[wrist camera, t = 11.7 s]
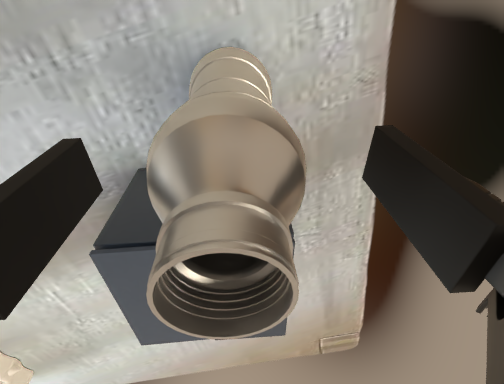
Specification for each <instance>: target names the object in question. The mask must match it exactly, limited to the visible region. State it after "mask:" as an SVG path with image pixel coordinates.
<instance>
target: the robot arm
mask: <svg viewBox="0 0 504 384" xmlns="http://www.w3.org/2000/svg"><path fill="white" fill-rule="evenodd" d="M362 178H363V180H364V181H365V182H366V184H367V185H368V186H369V187H370V189H371V190H372V191H373V193H374V194H375V195H376V197H377V198H378V199H379V201H380V202H381V203H382V205H383V206H384V207H385V208H386V209H387V211H388V212H389V214H390V215H391V216H392V217H393V219H394V220H395V221H396V223H397V224H398V225H399V227H400V228H401V229H402V231H403V232H404V233H405V235H406V236H407V237H408V239H409V240H410V241H411V243H412V244H413V245H414V247H415V248H416V249H417V250H418V252H419V253H420V254H421V256H422V257H423V258H424V260H425V261H426V262H427V264H428V265H429V266H430V267H431V269H432V270H433V271H434V272H435V274H436V275H437V277H438V278H439V279H440V281H441V282H442V283H443V285H444V286H445V287H446V288H447V290H448V291H449V292H450V293H459V292H474V291H475V290H476V289H477V288H478V287H479V285H480V284H481V283H482V281H483V280H484V279H486V280H487V281H488V282H489V283H490V284H491V285H492V286H493V287H494V288H493V290H492V291H491V292H490V293H489V294H488V295H487V297H486V298H485V299H484V300H483V301H482V303H481V304H480V305H479V306H478V308H477V310H476V312H478V313H481V312H482V311H483V310H484V309H485V308H488V316H487V317H488V328H487V370H486V371H487V372H486V384H504V202H501V199H499V198H498V197H496V196H495V195H493V194H491V193H490V192H489V191H488V190H486V189H485V188H484V187H482V186H481V185H480V184H478V183H476V182H474V181H471V180H469V179H467V178H465V177H463V176H462V175H460V174H459V173H458V172H456V171H455V170H454V169H452V168H451V167H449V166H448V165H447V164H445V163H444V162H442V161H441V160H440V159H438V158H437V157H435V156H434V155H433V154H431V153H430V152H429V151H427V150H426V149H424V148H423V147H421V146H420V145H419V144H417V143H416V142H415V141H413V140H412V139H410V138H409V137H408V136H406V135H405V134H404V133H402V132H401V131H399V130H398V129H397V128H395V127H394V126H393V125H388V126H375V130H374V134H373V138H372V142H371V146H370V150H369V153H368V157H367V161H366V165H365V169H364V173H363V176H362ZM102 191H103V189H102V186H101V184H100V182H99V179H98V177H97V175H96V172H95V170H94V168H93V165H92V163H91V161H90V158H89V156H88V154H87V151H86V149H85V147H84V144H83V142H82V140H81V138H73V139H62V140H61V141H60V142H58V143H57V144H55V145H54V146H53V147H51V148H50V149H49V150H47V151H46V152H44V153H43V154H42V155H40V156H39V157H38V158H36V159H35V160H33V161H32V162H31V163H29V164H28V165H27V166H25V167H24V168H22V169H21V170H20V171H18V172H17V173H16V174H14V175H13V176H11V177H10V178H9V179H7V180H6V181H5V182H3V183H2V184H0V320H6V318H7V317H8V316H9V315H10V313H11V312H12V311H13V309H14V308H15V307H16V305H17V304H18V303H19V301H20V300H21V299H22V297H23V296H24V295H25V293H26V292H27V291H28V289H29V288H30V287H31V285H32V284H33V283H34V281H35V280H36V279H37V277H38V276H39V275H40V273H41V272H42V271H43V269H44V268H45V267H46V265H47V264H48V263H49V261H50V260H51V259H52V257H53V256H54V255H55V253H56V252H57V251H58V249H59V248H60V247H61V245H62V244H63V243H64V241H65V240H66V239H67V237H68V236H69V235H70V233H71V232H72V231H73V229H74V228H75V227H76V225H77V224H78V223H79V221H80V220H81V219H82V217H83V216H84V215H85V213H86V212H87V211H88V209H89V208H90V207H91V205H92V204H93V203H94V201H95V200H96V199H97V197H98V196H99V195H100V193H101V192H102Z"/></svg>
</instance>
